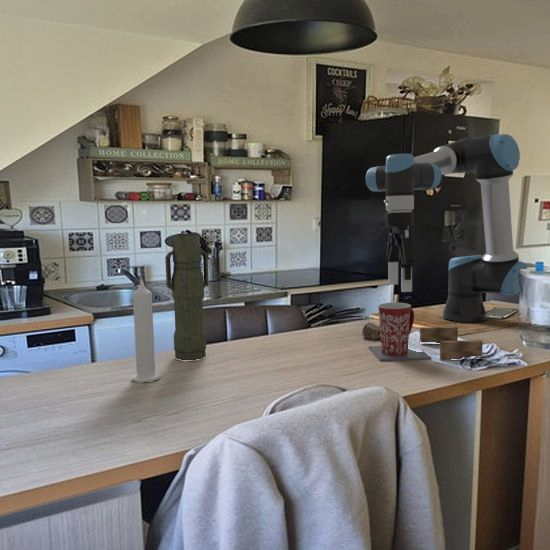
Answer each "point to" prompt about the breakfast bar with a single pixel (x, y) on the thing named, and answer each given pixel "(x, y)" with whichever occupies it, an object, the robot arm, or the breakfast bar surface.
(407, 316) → the mug
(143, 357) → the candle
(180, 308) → the thermos
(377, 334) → the rock
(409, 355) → the coaster
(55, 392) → the breakfast bar surface
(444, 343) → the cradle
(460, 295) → the robot arm
